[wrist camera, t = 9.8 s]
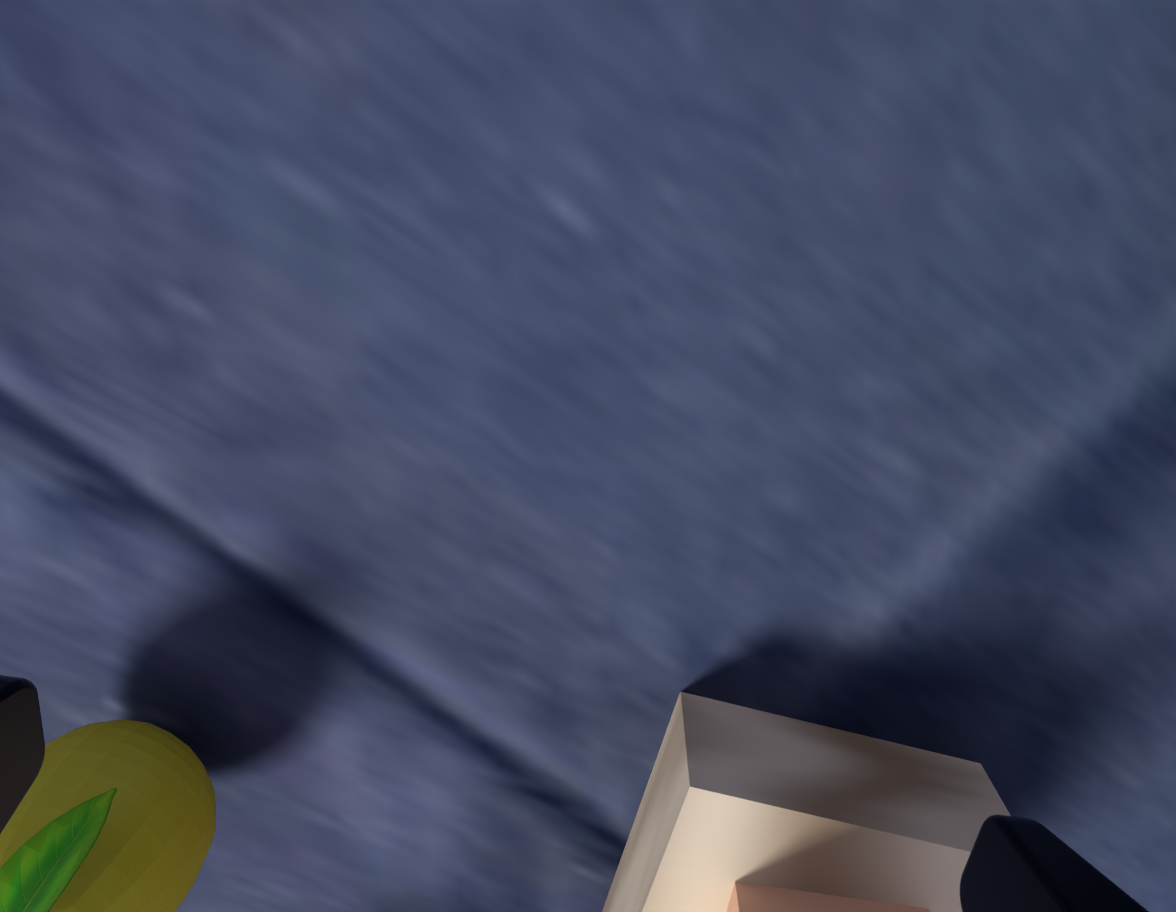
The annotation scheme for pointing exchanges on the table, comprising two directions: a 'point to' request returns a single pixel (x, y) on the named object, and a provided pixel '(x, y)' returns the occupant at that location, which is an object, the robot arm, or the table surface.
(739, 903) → the terracotta cube
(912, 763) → the beech block
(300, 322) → the table surface
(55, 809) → the lemon
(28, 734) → the robot arm
